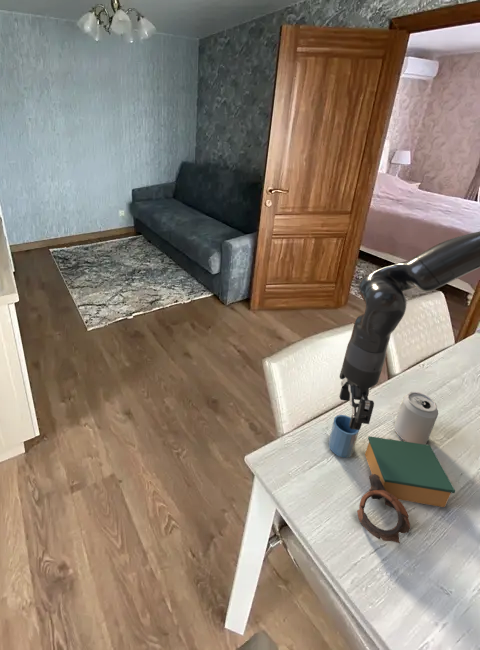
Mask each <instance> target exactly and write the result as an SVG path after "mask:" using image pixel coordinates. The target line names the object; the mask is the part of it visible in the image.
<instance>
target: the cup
mask: <svg viewBox="0 0 480 650" xmlns="http://www.w3.org/2000/svg"><path fill="white" fill-rule="evenodd" d="M350 420H351V416H348V415H345V414H338V415H336V416H335V417H334V418H333V422H332V426H331V430H330V433H329V438H328V443H327V444H328V447H329V449H330V451H331V452H332V453H334V455H336V456H338V457H340V458H343V459H347V458H350V457H352V455H353V453H354V449H355V446H356V443H357V439H358V435H359V433H360V430H355V429H351V428H350V426H349V424H350Z"/></svg>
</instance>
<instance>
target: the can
mask: <svg viewBox="0 0 480 650" xmlns="http://www.w3.org/2000/svg"><path fill="white" fill-rule="evenodd" d="M438 415H439V410H438V405H437V403H436V402H435V400H434V399H432V398H431V397H430V396H428V395H427V394H424V393H423V392H422V393H421V392H418V391H410V392H408V393H407V394H405V395H404V396H403V397H402V400H401V403H400V405H399V409H398V411H397V414H396V418H395V420H394V424H393V428H394V431H395V433H396V434H397V435H398V437H400V438H401V440H402V441H404V442H411V443H418V444H425V445H427V443H428V441H429V438H430V436H431V433H432V431H433V429H434V426H435V423H436V421H437V418H438Z"/></svg>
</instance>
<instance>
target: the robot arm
mask: <svg viewBox="0 0 480 650" xmlns="http://www.w3.org/2000/svg"><path fill="white" fill-rule="evenodd" d="M478 269H480V231H479V230H478V231H476V232H475V231H474V232H471V233H467V234H463V235H460V236H456V237H452V238H450V239H447V240H444V241H442V242H439V243H437V244H434V245H433V246H431V247H429V248H428V249H426V250H424V251H422V252H420V253H417V254H416V255H415V256H412V257H411V258H409V259H408V260H404V261H401V262H397V263H394V264H391V265H388V266H384V267H380V268H379V269H375V270H374V271H371V272H370V273H369V274H367V275H365V276H364V277H363V278H362V280H361V281H360V283H359V285H358V291H359V294H360V296H361V299H362V300H363V302H364V304H365V310H364V313H363V314H359V315H358V316H357V317H356V319H355V321H354V324H353V328H352V332H351V336H350V338H349V341H348V343H347V346H346V350H345V355H344V358H343V362H342V364H341V365H342V366H341V370H340V373H339V380H341V381H340V386H341V387H340V392H339V396H338V397H339V399H340V400H341V401H345V402H346V401H347V402H348V401H349V404H350V406H351V407H352V408H351V410H352V413H351V416H350V418H351V420H350V424H349V426H350V428H351V429H355V430H359V431H360V430H361V428H362V425H363V424H365V425H369V424H370V422H371V418H372V414H373V411H374V406H375V402H374V400H370V399H369V395H370V389H371V388H373V387H375V386H376V385H377V384H378V383H379V380H380V377H381V373H382V370H383V368H384V364H385V361H386V356H387V349H388V346H389V343H390V339H391V336H392V334H393V332H394V331H395V330H396V328H397V327H398V325H400V323H401V321H402V320H403V318H404V316H405V314H406V311H407V304H408V303H407V297H406V295H405V293H404V292H406V291H409V290H413V289H417V290H419V291H421V292H424V293H429V292H432V291H435V290H437V289H439V288H441V287H443V286H445V285H447V284H450V283H451V282H453V281H455V280H457V279H460V278H461V277H464V276H466V275H467V274H470V273H472V272H474V271H476V270H478ZM355 400H356V401H358V402H355Z"/></svg>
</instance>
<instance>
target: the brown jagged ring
mask: <svg viewBox="0 0 480 650" xmlns="http://www.w3.org/2000/svg"><path fill="white" fill-rule="evenodd" d="M368 478H369V483H370V484H369V485H370V487H369V489H368V491H367V492H366V493H365V494H363V496H362V497H361V499H360V501H359V507H358V508H359V509H358V510H357V511H356V512H357V517H358V518H357V519H358V521H359V522H360V524H361V526H362V527H363V528H364V529H365V530H366V531H367V532H368V533H369V534H370V535H372V536H373V537H375V538H376V539H378V540H380V539H381V540H382V541H383V542H394V543H396V544H401V541H400V533H401V534H408V533H410V530H411V523H410V519H409V517H410V515H409V512H408V510H407V509H406V507H405V506H404V504H403V503H402V501H401V500H399V499H397V498H396V497H395V496H394V495H392V494H390V493H389V492H387V491H386V490H385V488H384V486H383V484H382V482H381V480H380V477H379V476H378V475H376V474H372V473H371V474H370V475H369V477H368ZM370 498H371V500H379V501H380V500H381V499H383V498H384V504H385V506H388V507H389V508H391V509H393V510H394V511H395V512H396V514H397V521H396V524H395V526H394V527H392V528H391V529H382V528H380V527H378V526H376V524H374V523H372V522H371V520H370V519H369V517H368V515H367V513H366V512H365V508H366V503H367V501H368V500H369V499H370Z"/></svg>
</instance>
